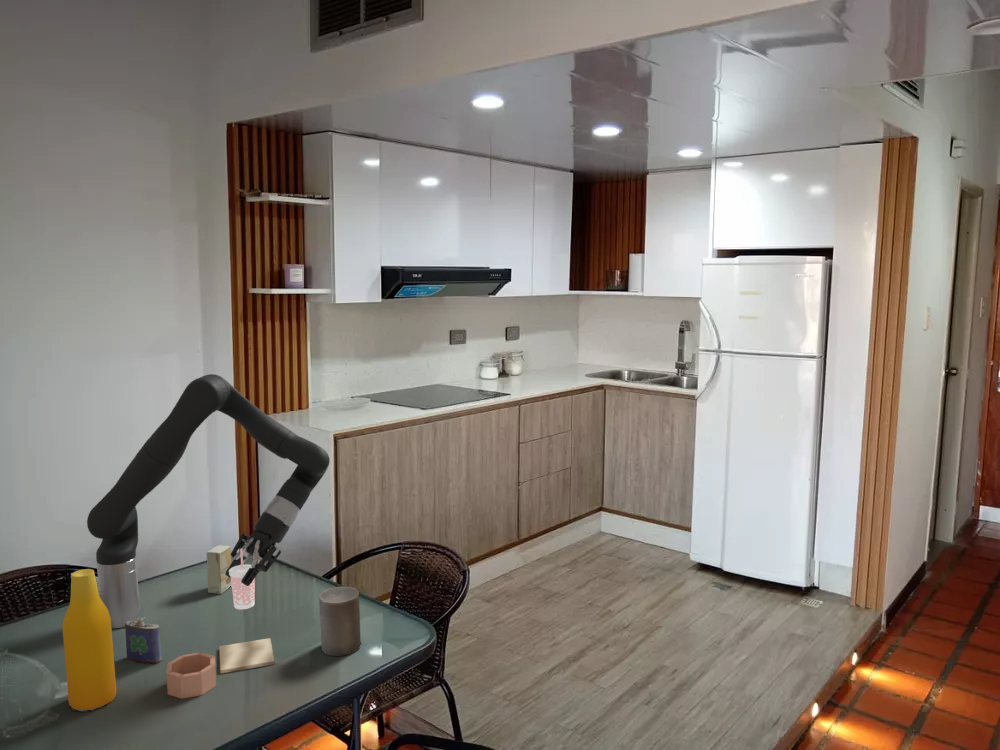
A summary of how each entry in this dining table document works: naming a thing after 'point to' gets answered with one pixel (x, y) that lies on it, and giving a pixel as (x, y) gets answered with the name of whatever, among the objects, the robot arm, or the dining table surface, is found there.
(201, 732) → the dining table surface
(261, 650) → the wooden coaster
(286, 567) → the dining table surface
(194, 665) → the ceramic ring
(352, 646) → the pillar candle
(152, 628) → the flask
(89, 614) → the beer bottle
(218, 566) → the skincare box
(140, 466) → the robot arm
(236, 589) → the beverage cup
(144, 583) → the dining table surface
